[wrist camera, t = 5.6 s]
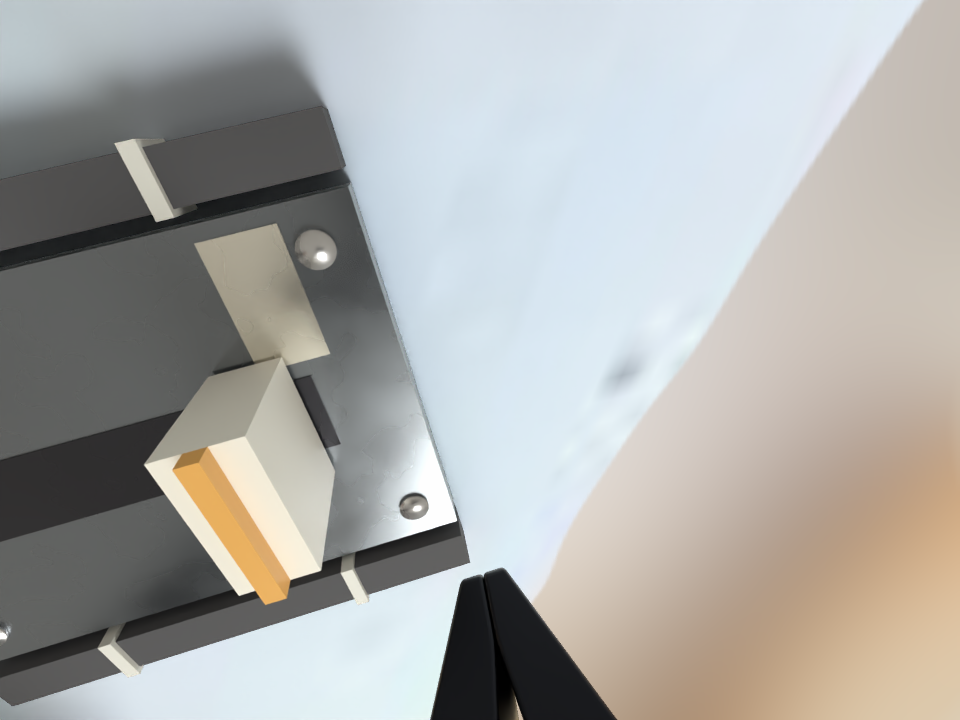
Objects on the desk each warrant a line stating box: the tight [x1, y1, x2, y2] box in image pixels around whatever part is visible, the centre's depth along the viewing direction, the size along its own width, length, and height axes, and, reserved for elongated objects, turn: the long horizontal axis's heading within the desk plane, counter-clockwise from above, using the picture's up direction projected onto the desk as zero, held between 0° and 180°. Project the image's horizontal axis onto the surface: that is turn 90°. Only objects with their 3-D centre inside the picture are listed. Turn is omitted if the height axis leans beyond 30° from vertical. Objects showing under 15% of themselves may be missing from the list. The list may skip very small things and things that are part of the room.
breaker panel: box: [0, 183, 457, 661], centre depth 16 cm, size 14×20×2 cm
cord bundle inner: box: [0, 506, 470, 706], centre depth 20 cm, size 2×20×2 cm, turn 101°
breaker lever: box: [144, 357, 335, 605], centre depth 14 cm, size 5×2×5 cm, turn 11°
